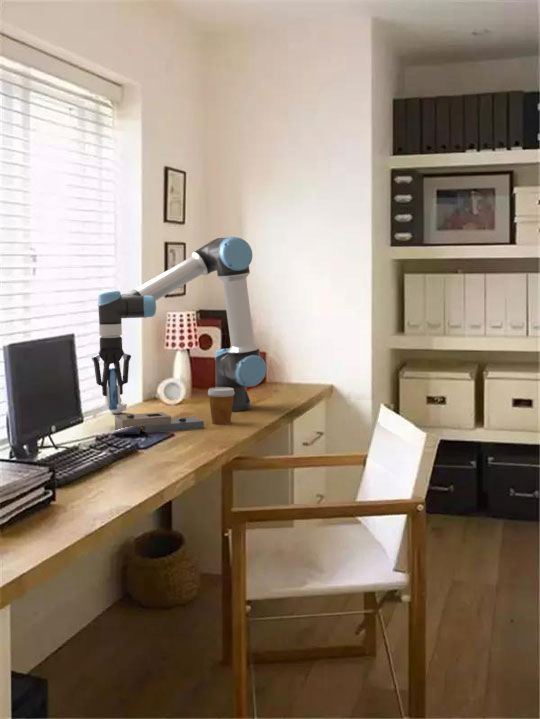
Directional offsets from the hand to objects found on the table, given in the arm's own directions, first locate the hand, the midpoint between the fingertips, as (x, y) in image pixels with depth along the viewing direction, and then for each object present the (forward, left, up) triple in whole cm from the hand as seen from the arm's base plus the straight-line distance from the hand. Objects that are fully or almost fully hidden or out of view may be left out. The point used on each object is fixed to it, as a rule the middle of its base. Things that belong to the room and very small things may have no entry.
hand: (113, 404), depth 299 cm
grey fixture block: (-12, +15, -7) cm, 20 cm away
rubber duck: (-8, -21, -7) cm, 24 cm away
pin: (0, 0, -2) cm, 2 cm away
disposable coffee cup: (-35, +13, -7) cm, 38 cm away
